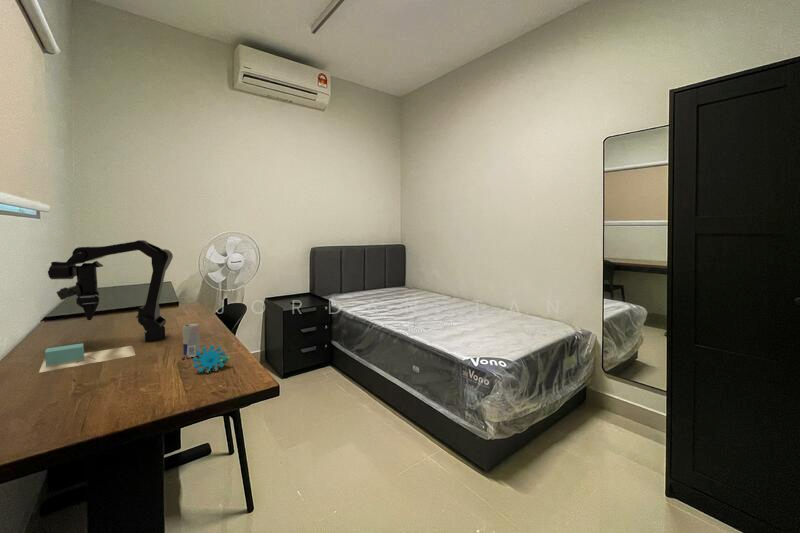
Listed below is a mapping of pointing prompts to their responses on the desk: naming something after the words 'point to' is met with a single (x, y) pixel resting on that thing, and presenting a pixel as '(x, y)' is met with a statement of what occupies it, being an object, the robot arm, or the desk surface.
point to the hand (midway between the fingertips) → (89, 317)
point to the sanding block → (64, 354)
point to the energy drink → (191, 339)
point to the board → (94, 358)
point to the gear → (210, 359)
